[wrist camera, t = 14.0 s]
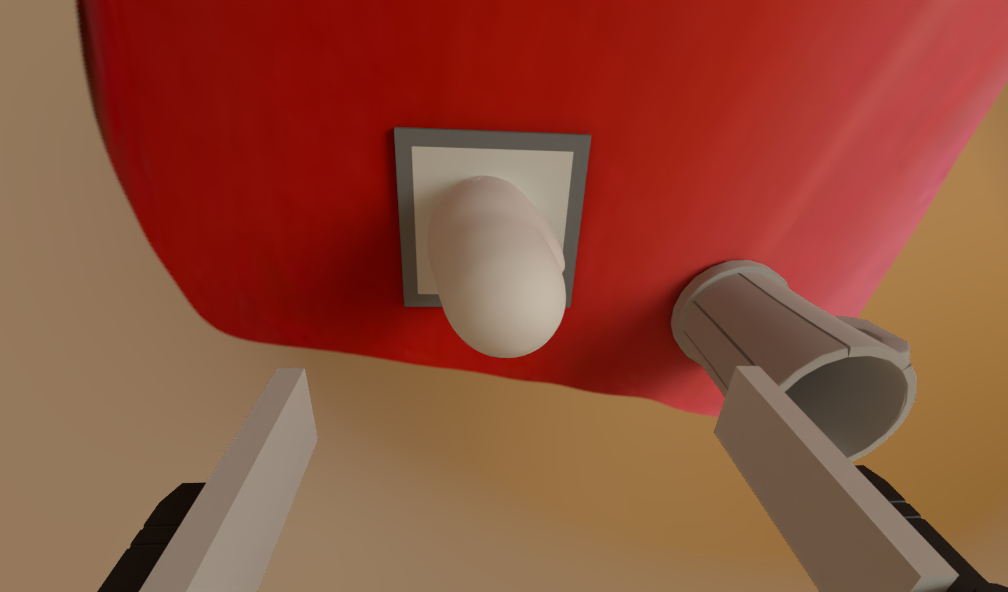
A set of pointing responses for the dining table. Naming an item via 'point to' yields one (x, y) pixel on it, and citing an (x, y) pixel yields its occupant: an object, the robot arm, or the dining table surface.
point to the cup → (798, 352)
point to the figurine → (496, 267)
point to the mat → (468, 153)
